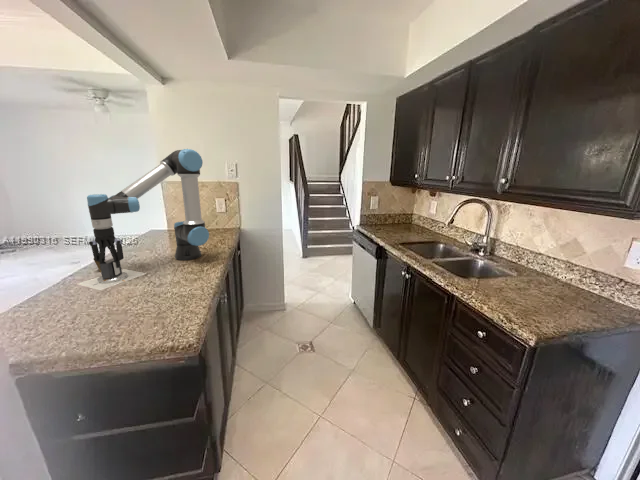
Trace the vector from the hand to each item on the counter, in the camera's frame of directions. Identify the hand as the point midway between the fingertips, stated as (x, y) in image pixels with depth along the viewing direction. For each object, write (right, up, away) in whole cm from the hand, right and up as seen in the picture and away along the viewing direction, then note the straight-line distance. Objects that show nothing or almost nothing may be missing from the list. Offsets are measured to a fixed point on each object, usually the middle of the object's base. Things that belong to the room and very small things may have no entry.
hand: (112, 274), depth 133 cm
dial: (0, -2, 0) cm, 2 cm away
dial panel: (0, -4, +1) cm, 4 cm away
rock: (-14, -1, +14) cm, 20 cm away
